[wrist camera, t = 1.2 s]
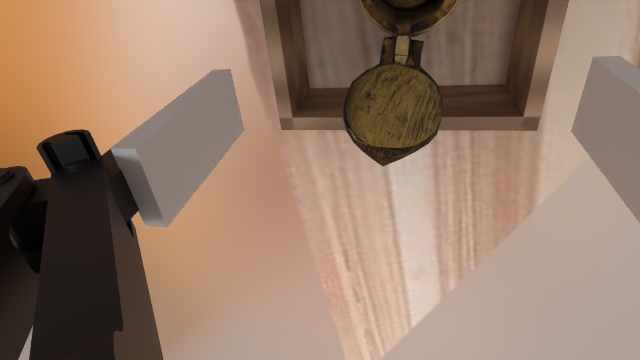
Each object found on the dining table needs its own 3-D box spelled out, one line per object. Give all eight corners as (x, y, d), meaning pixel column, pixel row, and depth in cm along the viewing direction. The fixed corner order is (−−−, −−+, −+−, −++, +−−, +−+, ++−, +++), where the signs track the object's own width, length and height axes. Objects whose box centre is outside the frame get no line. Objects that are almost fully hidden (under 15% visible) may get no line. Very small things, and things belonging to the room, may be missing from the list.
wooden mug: (348, 65, 38) (308, 160, 23) (360, -107, 30) (310, -125, 15) (441, 73, 36) (459, 179, 22) (479, -104, 28) (547, -121, 14)
